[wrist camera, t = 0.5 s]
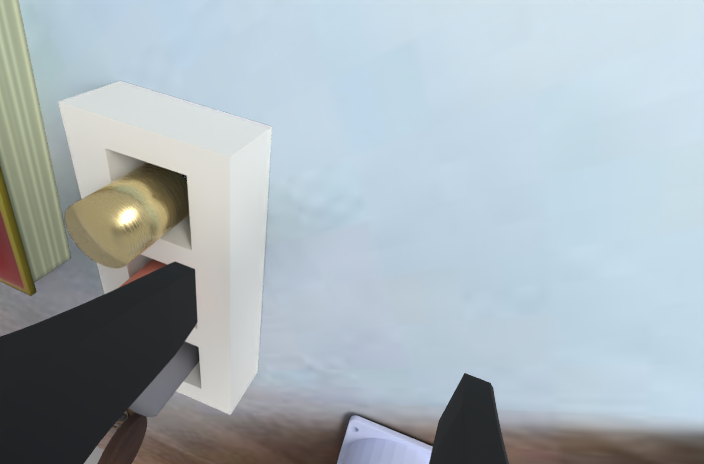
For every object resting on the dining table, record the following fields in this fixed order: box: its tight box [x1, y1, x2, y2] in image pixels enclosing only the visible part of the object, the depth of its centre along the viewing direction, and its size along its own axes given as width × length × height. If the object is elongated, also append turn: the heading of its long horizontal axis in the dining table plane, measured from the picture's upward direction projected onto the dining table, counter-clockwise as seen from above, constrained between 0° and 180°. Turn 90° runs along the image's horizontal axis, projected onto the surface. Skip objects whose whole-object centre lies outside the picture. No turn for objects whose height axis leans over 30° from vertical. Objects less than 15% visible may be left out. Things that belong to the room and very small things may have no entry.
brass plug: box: [65, 162, 189, 269], centre depth 19 cm, size 3×3×4 cm
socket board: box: [58, 81, 272, 415], centre depth 24 cm, size 18×8×4 cm, turn 170°
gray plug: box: [129, 342, 200, 417], centre depth 25 cm, size 3×3×4 cm
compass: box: [98, 408, 147, 464], centre depth 37 cm, size 8×8×7 cm
